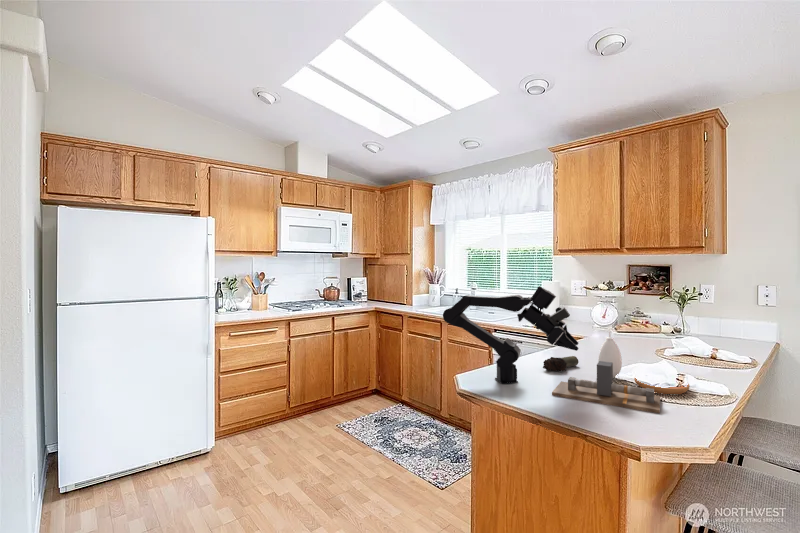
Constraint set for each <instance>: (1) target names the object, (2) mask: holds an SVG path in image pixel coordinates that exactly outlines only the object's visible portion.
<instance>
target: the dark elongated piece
mask: <svg viewBox="0 0 800 533" xmlns="http://www.w3.org/2000/svg"><path fill="white" fill-rule="evenodd" d="M579 362H580V361H579V359H578V357H577V356H575V355H570V356H564V357H552V356H550V358H547V359H545V360H543V366H542V368H543V369H545V371H551V372H552V371H554V372H560V373H561V372H565V371H566V370H567V368H570V367H576V366H577V365H578V364H579Z"/></svg>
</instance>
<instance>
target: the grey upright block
mask: <svg viewBox="0 0 800 533" xmlns="http://www.w3.org/2000/svg"><path fill="white" fill-rule="evenodd" d="M596 382H597V394H598V395H605V396H611V392H612V393H613V391H611V384H614V383H613V382H614V378H613V363H612V362H603V361H599V362H598V361H597V364H596Z"/></svg>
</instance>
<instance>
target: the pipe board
mask: <svg viewBox="0 0 800 533" xmlns="http://www.w3.org/2000/svg"><path fill="white" fill-rule="evenodd" d="M611 391H613V393H612V392H611V396H605V395H598V394H597V380H596V381H595V380H588V379H581V378H577V377H573V376H569V377H568V378H567V381H560V382H559V383H558V385H556V387H555V388H554V389H553V390H552V391H551V395H552V396H554V397H561V398H567V399H572V400H573V399H574V400H578V401H583V402H590V403H597V404H601V405H607V406H613V407H619V408H626V409H630V410H631V409H632V410H637V411H643V412H647V413H649V412H650V413H654V414H660V412H661V396H660V395H656V394H655V393H654V389H651V388H647V389H645V388H641V387H639V386H637V387H636V386H630V385H626V384H625V385H623V384H616V383H613V384H611Z"/></svg>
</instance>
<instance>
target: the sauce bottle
mask: <svg viewBox="0 0 800 533" xmlns="http://www.w3.org/2000/svg"><path fill="white" fill-rule="evenodd" d="M598 352H599V353H598V361H597V363H598V362H599V361H603V362H612V363H613V379H615V378H616V375H617V374H618V375H619V374H620V373H621V370H622V364H623V362H622V360H623V359H622V354H621V350H620V348H619V346H618V344H617V343H616V341H615V339H614V337H611V330H609V332H608V336H607V337H605V340H604V341H603V342H602V344H601V347H600V348H599V351H598ZM618 375H617V376H618ZM614 377H615V378H614Z"/></svg>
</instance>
